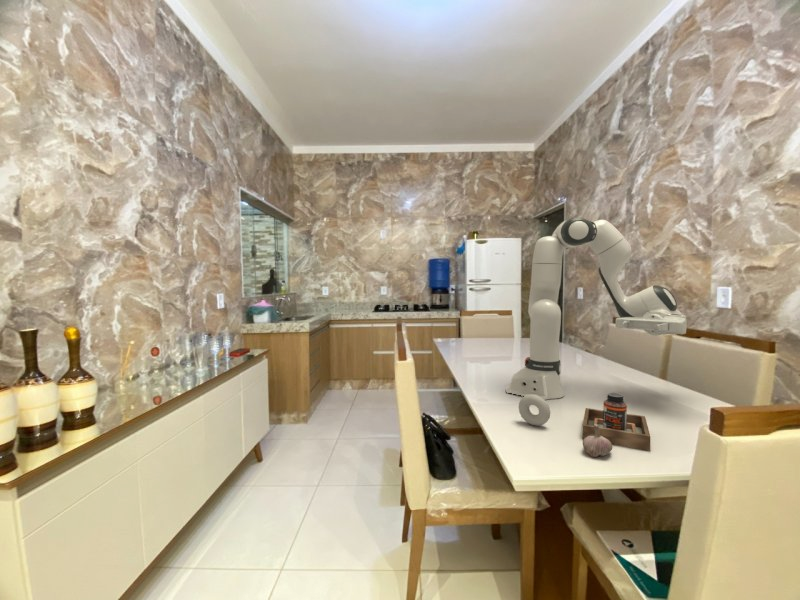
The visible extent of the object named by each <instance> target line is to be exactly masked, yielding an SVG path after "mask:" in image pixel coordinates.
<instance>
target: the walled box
mask: <svg viewBox="0 0 800 600" xmlns="http://www.w3.org/2000/svg"><path fill="white" fill-rule="evenodd" d="M594 424H597V425H598V427H599V433H600V436H602V437H604V438H606V439H608V440H609V441H610V442H611V444H612V446H613V445H614V446H620V447H624V446H625V447H624V448H630V449H631V448H632V449H635V450H641V451H646V452H651V434H650V430H649V426H648V422H647V420H646V416H645V415H640V414H639V415H638V414H634V413H633V414H632V413H627V427H626V431H622V430H616V429H610V428H603V409H596V408H589V407H585V409H584V415H583V421H582V440H584V439H585V438H586V437H588V436H595V428H594Z"/></svg>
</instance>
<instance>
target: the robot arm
mask: <svg viewBox="0 0 800 600" xmlns="http://www.w3.org/2000/svg"><path fill="white" fill-rule="evenodd" d="M582 245H587V246H588V247H589V248H590V249H592V251H593V252H594V253H595V255H596V256H597V257H598V260H599V267H598V273H599V276H600V280H601V281H602V282H603V284H604V287H605V289H606V291H607V293H608V295H609V296H610V299H611V300H612V302H613V306H614V307H615V309H616V313H617V314H618V316H619V317H616V318H615V327H616V328H618V329H627V330H638V331H639V330H640V331H641V330H642V331H644V332H646V333H647V334H649V335H651V336H665V335H685V334H687V327H688V324H687V323H688V320H687V316H686V315H684V314H683V313H682V312H681V311H679V310H678V309H677V307H678V303H677V299H676V297H675V296H674V295H673V294H672V292H671V291H670V290H669V289H668V288H665V287H663V286H661V285H656V284H654V285H652V286H649V287H647V288H645V289H643V290H641V291H639V292H637V293H634V294H631V295H629V296H627V295H625V293H624V290H623V289H622V287H621V285H620V284H619V282H618V280H617V276H618V273H619V272H620V271H621V270H622V268H623V267H625V265H626V264H627V262H629V260H630V258H631V255H632V247H631V244H630V243H629V242H628V240H627V239H626V238H625V236H624V235H623V234H622V233H621V232H620V231H619V230H618V229H617V228H616V227H615V226H614V225H613V224H612V223H611V222H609V221H608V220H605V219H598V220H595V221H591V220H589V219H586V218H584V217H580V216H579V217H571V218H569V219H566V220H564V221H562V222H560V223H559V224H558V225H557V226H556V227H555V228H554V230H553V231H552V233H551V235H547V236H543V237H540V238H538V240H536V242H535V246H534V249H533V254H532V255H533V256H532V262H531V264H532V265H531V277H530V278H531V279H530V287H529V288H530V290H529V296H528V297H529V300H528V309H527V311H528V312H527V313H528V316H529V319H530V325H529V329H530V330H529V356H527V357H526V358H525V360H524V367H523V368H521V369H519V371H517V372H516V373H514V374H513V376H512V377H511V380H510V384H508V385H507V386H506V387H505V390H506V392H508V393H512V394H511V395H513V394H517V395H516V396H518V395H521V396H520V397H523V396H526V395H529V394H535V395H537V396H540V397H541V398H543V399H544V400H545V401H546V400H551V399H553V400H554V399H560V398H562V397H564V396H565V393H564V390H563V386H562V381H561V380H562V379H561V373H562V372H561V371H562V366H561V365H562V364H561V360H560V336H561V335H560V334H561V324H562V323H561V321H562V320H561V319H562V311H561V306H560V305H559V304H558V300H559V292H560V289H561V283H562V282H561V281H562V271H563V270H562V266H563V255H564V252H565V251H566V250H568V249H572V248H577V247H580V246H582ZM505 390H504V391H505ZM506 392H505V393H506ZM508 393H507V394H508Z"/></svg>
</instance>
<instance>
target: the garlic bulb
mask: <svg viewBox="0 0 800 600" xmlns="http://www.w3.org/2000/svg"><path fill="white" fill-rule="evenodd" d="M594 428H595V436H588V437H586V438H585V439H582V447H583V448H582V449H583V450H584V451H585V453H587V454H589V456H591V457H592V458H597V457H599V456H602V457H603V456H607V455H609V454H610V452H612V451H613V444H611V442H610V441H609V440H608V439H606V438H604V437H602V436H600V433H599V427H598V425H597V424H594Z"/></svg>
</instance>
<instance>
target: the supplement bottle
mask: <svg viewBox="0 0 800 600" xmlns="http://www.w3.org/2000/svg"><path fill="white" fill-rule="evenodd" d="M606 397H607V399H605V400H603V409H602V410H603V428H610V429H616V430H622V431H626V427H627V414H628V405H627V403H626V402H624V395H623V394H621V393H619V392H608V393H607V395H606Z"/></svg>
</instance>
